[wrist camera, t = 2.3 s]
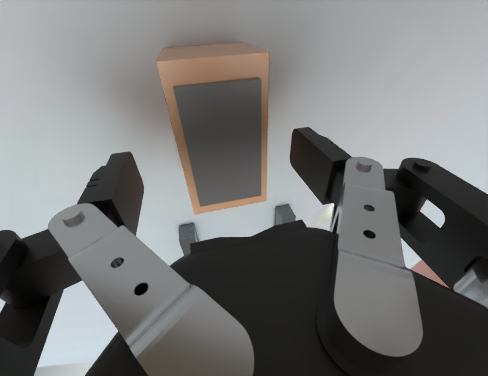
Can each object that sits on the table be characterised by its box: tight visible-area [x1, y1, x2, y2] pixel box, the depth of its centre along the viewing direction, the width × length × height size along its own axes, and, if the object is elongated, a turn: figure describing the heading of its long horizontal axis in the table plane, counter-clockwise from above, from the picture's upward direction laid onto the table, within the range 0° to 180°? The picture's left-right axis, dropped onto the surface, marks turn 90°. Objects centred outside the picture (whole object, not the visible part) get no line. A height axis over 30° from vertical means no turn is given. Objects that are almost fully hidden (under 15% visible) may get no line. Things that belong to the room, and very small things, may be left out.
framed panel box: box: [156, 42, 269, 214], centre depth 15 cm, size 5×9×6 cm, turn 2°
